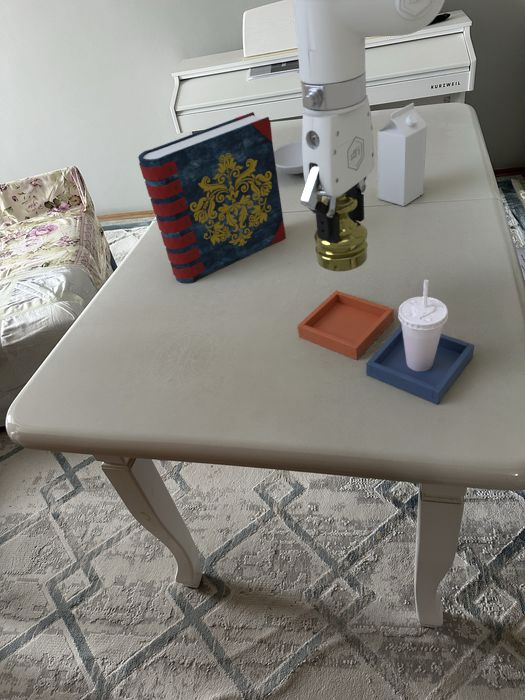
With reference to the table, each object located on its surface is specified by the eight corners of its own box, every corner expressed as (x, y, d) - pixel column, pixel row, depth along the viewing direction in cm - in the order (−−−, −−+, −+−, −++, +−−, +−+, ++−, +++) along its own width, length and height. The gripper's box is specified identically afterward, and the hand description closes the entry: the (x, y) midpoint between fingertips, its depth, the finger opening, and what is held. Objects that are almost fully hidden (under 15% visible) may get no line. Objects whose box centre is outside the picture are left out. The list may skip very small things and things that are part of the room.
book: (183, 288, 101) (146, 164, 85) (168, 274, 106) (130, 154, 90) (287, 238, 110) (271, 117, 94) (269, 228, 114) (251, 110, 98)
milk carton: (377, 199, 117) (377, 111, 105) (397, 187, 120) (399, 100, 108) (403, 207, 112) (406, 116, 100) (423, 194, 116) (428, 104, 103)
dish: (323, 184, 127) (322, 164, 124) (266, 188, 130) (263, 169, 127) (328, 156, 140) (327, 137, 137) (276, 160, 143) (274, 142, 140)
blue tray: (472, 357, 76) (474, 344, 74) (437, 404, 70) (439, 392, 68) (403, 332, 82) (404, 321, 80) (366, 375, 76) (366, 363, 75)
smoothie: (449, 355, 76) (458, 275, 67) (433, 383, 72) (440, 302, 63) (407, 343, 79) (410, 265, 70) (389, 369, 75) (390, 291, 66)
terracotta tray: (393, 320, 84) (393, 308, 83) (356, 360, 79) (356, 348, 77) (336, 301, 91) (336, 290, 89) (298, 336, 85) (297, 325, 83)
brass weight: (324, 244, 80) (319, 182, 73) (372, 247, 77) (372, 183, 71) (310, 270, 75) (303, 207, 68) (361, 275, 72) (359, 208, 66)
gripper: (317, 120, 55) (328, 265, 66) (398, 71, 64) (396, 207, 75) (263, 114, 59) (283, 252, 71) (346, 69, 68) (352, 198, 80)
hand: (341, 228), depth 73 cm, fingers closed on brass weight, 5 cm apart
